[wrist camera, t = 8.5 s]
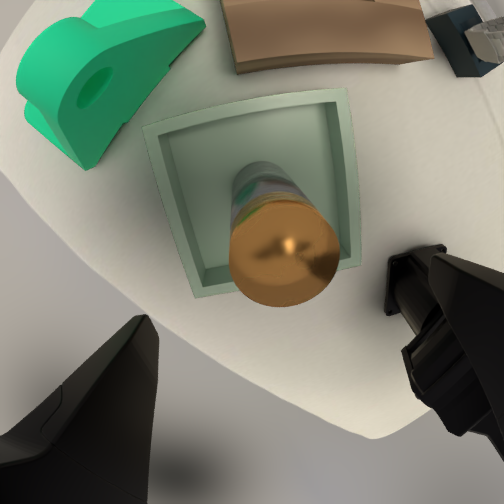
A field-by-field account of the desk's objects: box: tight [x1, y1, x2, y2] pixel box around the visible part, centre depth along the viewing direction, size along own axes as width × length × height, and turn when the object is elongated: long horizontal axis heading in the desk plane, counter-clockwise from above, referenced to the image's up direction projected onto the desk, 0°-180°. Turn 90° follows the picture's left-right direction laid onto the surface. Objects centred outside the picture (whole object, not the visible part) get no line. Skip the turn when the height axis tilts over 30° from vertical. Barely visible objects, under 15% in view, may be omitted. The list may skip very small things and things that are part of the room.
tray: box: [142, 88, 361, 298], centre depth 18 cm, size 12×12×3 cm
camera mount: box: [16, 0, 206, 171], centre depth 10 cm, size 12×8×10 cm, turn 138°
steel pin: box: [229, 161, 340, 307], centre depth 15 cm, size 4×4×10 cm
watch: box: [425, 4, 504, 77], centre depth 9 cm, size 6×8×11 cm
